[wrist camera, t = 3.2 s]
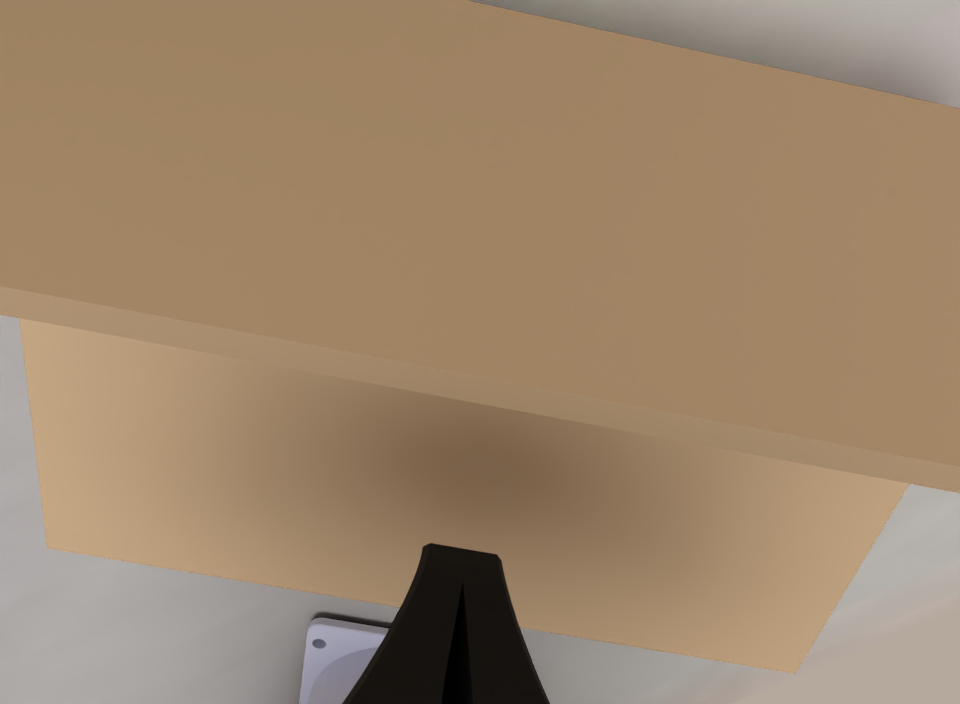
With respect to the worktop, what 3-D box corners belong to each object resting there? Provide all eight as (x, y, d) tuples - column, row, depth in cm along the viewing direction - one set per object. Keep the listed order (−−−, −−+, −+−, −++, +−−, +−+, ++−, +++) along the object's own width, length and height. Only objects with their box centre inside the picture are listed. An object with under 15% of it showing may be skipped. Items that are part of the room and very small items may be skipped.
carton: (735, 534, 24) (795, 674, 19) (146, 428, 23) (47, 548, 18) (936, 114, 17) (1104, 160, 13) (132, -62, 16) (-30, -86, 11)
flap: (1206, 539, 10) (1270, 525, 9) (-268, 264, 9) (-325, 224, 8) (1076, 174, 13) (1117, 143, 12) (-10, -61, 12) (-34, -110, 11)
